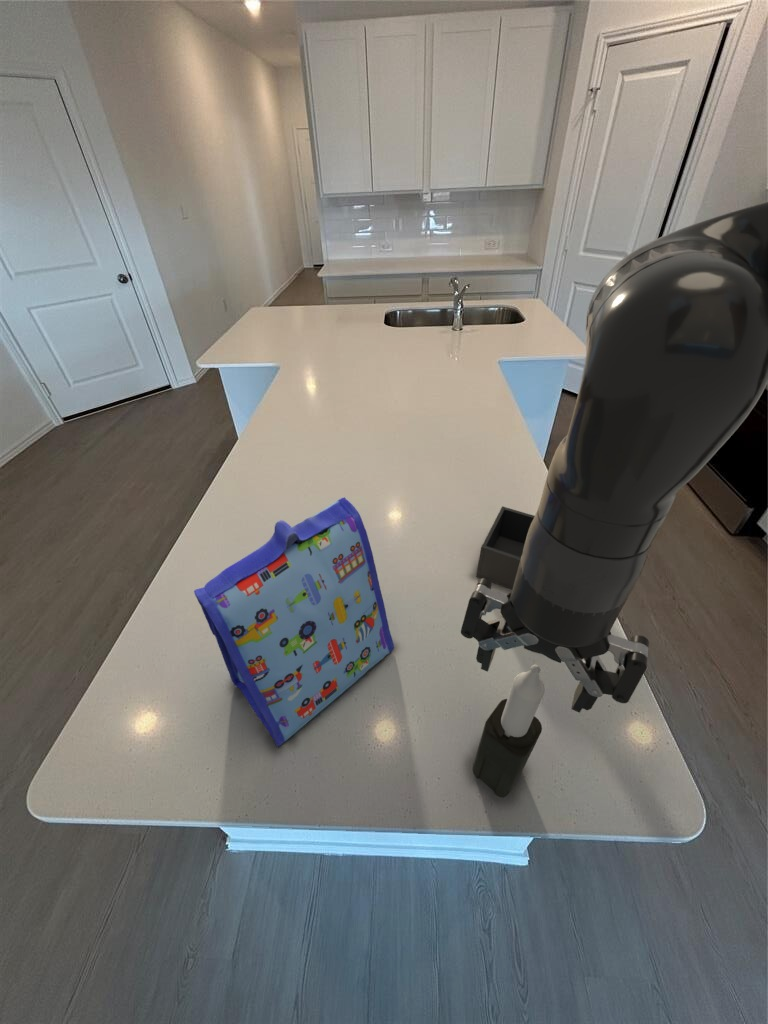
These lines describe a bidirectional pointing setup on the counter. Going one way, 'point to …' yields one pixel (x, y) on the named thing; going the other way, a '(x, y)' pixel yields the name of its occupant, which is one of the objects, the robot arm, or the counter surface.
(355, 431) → the counter surface
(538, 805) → the counter surface
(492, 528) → the bin
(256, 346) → the counter surface
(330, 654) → the lunch bag
